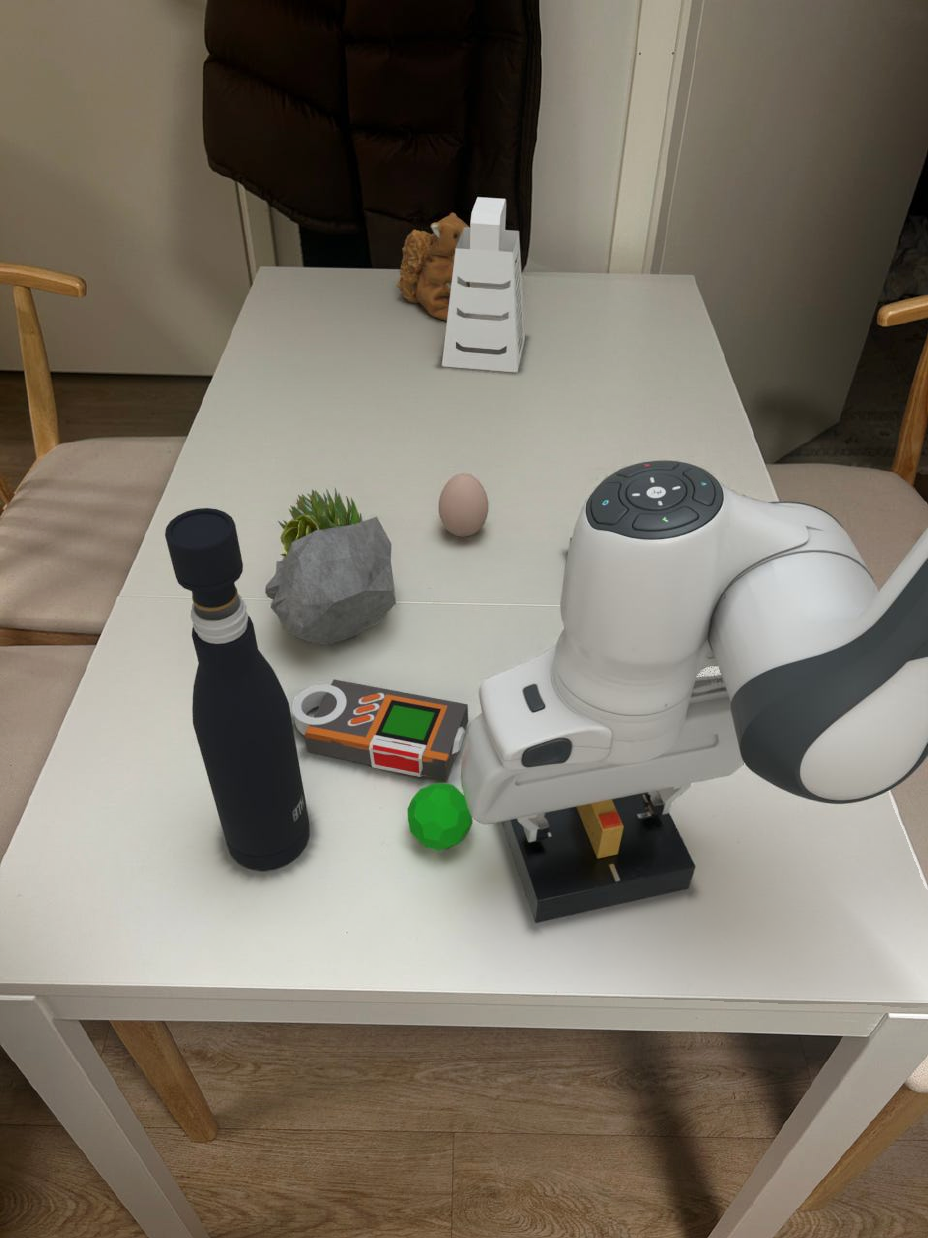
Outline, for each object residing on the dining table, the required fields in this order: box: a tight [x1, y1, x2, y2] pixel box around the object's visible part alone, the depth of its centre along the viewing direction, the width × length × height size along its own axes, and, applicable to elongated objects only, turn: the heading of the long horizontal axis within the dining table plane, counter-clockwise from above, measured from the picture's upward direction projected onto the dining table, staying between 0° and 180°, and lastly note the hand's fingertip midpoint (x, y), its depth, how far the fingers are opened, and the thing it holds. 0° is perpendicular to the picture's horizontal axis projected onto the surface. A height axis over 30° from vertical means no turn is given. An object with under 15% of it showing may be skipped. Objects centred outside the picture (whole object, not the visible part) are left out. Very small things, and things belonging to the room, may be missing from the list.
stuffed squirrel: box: [396, 212, 471, 322], centre depth 139 cm, size 10×14×13 cm
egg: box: [437, 472, 489, 538], centre depth 99 cm, size 5×5×7 cm
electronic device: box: [291, 679, 469, 781], centre depth 79 cm, size 7×3×15 cm
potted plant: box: [264, 487, 397, 646], centre depth 88 cm, size 12×13×15 cm
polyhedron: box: [407, 782, 473, 851], centre depth 71 cm, size 5×5×5 cm
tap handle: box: [576, 799, 624, 859], centre depth 69 cm, size 6×2×4 cm, turn 14°
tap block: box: [501, 793, 697, 924], centre depth 71 cm, size 12×10×3 cm
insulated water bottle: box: [164, 507, 311, 872], centre depth 62 cm, size 6×6×30 cm
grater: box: [441, 196, 526, 373], centre depth 125 cm, size 10×10×20 cm
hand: (595, 820), depth 70 cm, fingers open, 8 cm apart
